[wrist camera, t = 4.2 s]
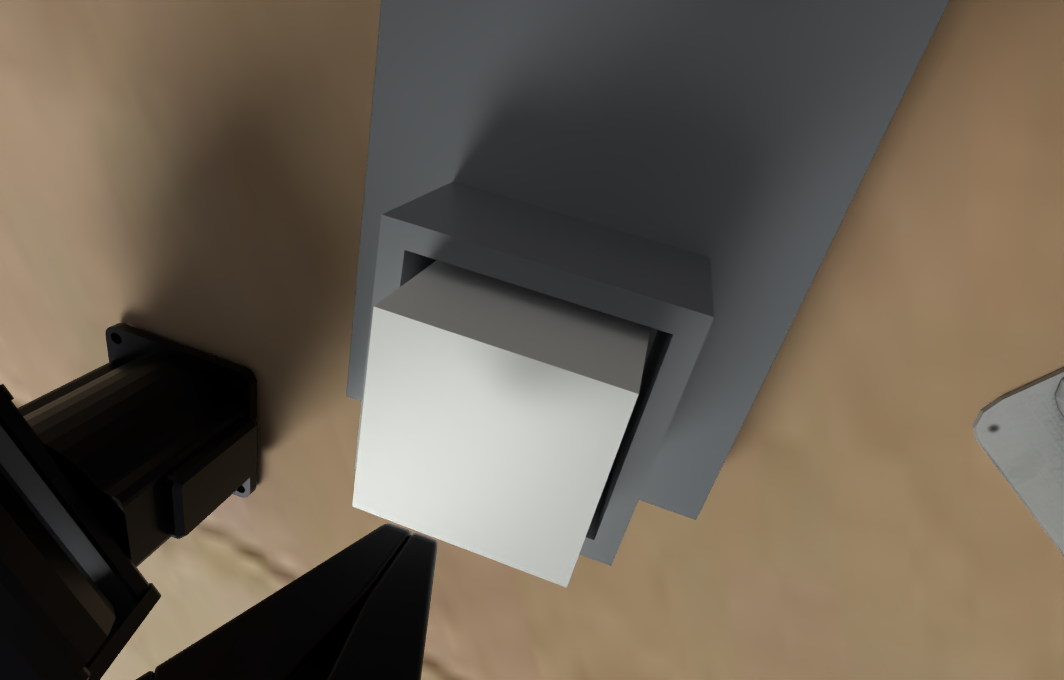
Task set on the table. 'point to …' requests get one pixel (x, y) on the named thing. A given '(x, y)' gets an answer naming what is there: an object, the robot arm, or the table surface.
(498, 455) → the key white
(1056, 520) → the emergency button
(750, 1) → the key panel
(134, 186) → the table surface
